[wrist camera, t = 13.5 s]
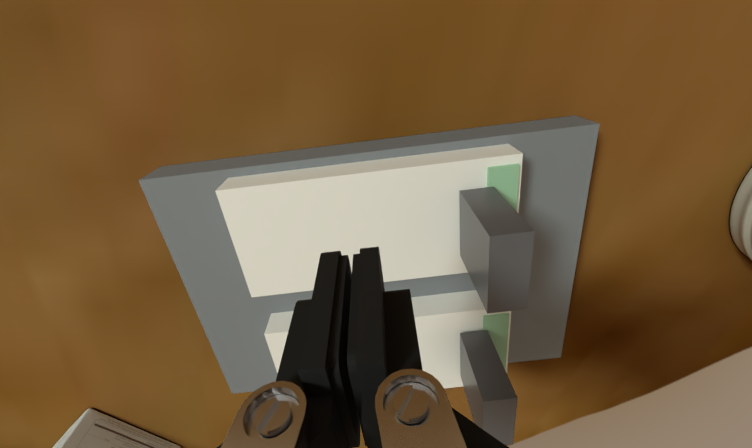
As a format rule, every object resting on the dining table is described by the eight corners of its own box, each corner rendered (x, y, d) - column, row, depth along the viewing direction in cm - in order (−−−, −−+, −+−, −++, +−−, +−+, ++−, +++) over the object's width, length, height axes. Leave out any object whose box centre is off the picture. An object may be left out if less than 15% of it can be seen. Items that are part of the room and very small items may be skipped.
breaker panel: (160, 166, 23) (114, 194, 18) (575, 115, 22) (625, 132, 18) (241, 368, 31) (222, 419, 26) (546, 334, 30) (575, 381, 26)
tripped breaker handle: (459, 190, 19) (489, 236, 14) (493, 186, 19) (534, 231, 14) (459, 255, 21) (487, 313, 16) (491, 251, 21) (527, 309, 16)
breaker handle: (459, 333, 23) (483, 401, 19) (487, 330, 23) (517, 397, 19) (460, 375, 25) (481, 447, 21) (485, 373, 25) (512, 444, 21)
